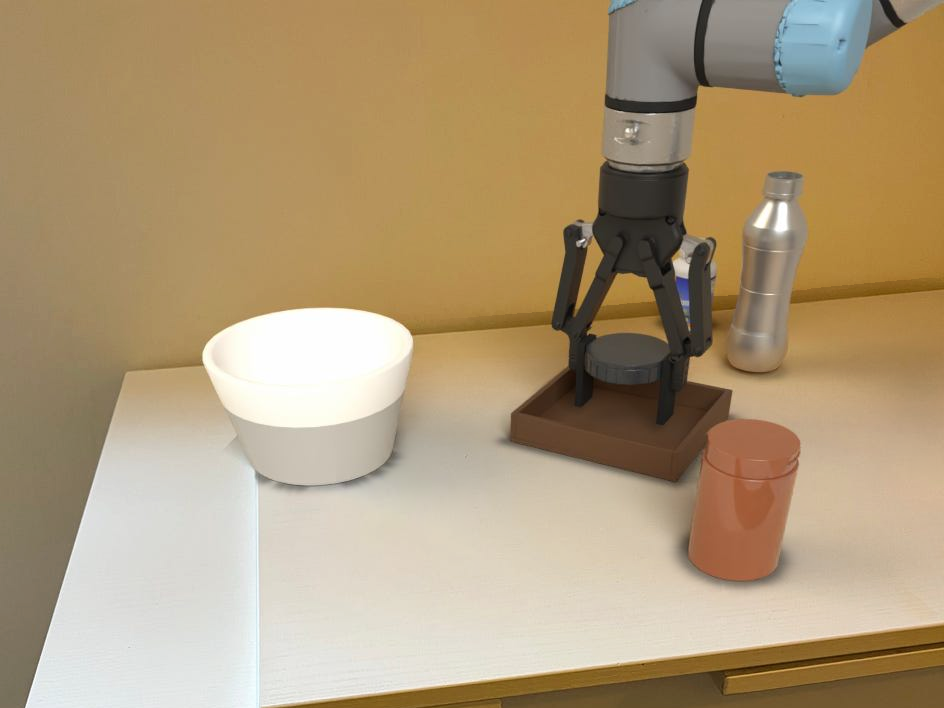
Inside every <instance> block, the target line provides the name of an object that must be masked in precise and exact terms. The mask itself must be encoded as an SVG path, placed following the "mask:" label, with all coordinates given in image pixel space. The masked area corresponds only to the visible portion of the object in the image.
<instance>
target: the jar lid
mask: <svg viewBox="0 0 944 708" xmlns="http://www.w3.org/2000/svg"><path fill="white" fill-rule="evenodd" d="M670 352H671V351H670V348H669V344H668V342H667V341H665V340H663V339H661V338H659V337H656V336H654V335H650V334H645V333H636V332H616V333H609V334H604V335H600V336H596V338H595V339H593V340H592V341H591V342H590V343H588V345H587V347H586V352H585V363H584V365H585V370H586V371H587V372H588V373H589V374H590V375H591V376H593V377H595V378H597V379H599V380H602V381H605V382H609V383H614V384H622V385H639V384H646V383H652V382H655V381H658V380H660V379H661V372H662V363H663V359H664V358H665V357H666V356H667V355H668V354H669V353H670Z"/></svg>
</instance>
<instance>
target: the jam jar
mask: <svg viewBox="0 0 944 708" xmlns="http://www.w3.org/2000/svg"><path fill="white" fill-rule="evenodd" d="M707 435H708V437H707V444H706V445H705V447H704V448H703V449H702V453H701V460H700V467H699V474H698V479H697V488H696V494H695V502H694V508H693V514H692V521H691V528H690V534H689V541H688V542H689V543H688V549H687V554H688V555H687V556H688V558H689V560H690V562H691V563H692V564H693V565H694V566H695V567H696V568H697V569H698V570H700V571H702V573H705V574H707V575H709V576H711V577H715V578H717V579H721V580H726V581H734V582H746V581H747V582H748V581H755V580H760V579H762V578H765V577H767V576H769V575H770V574H772V573H773V572H774V571H775V570H776V568H777V567H778V564H779V559H780V555H781V550H782V546H783V541H784V536H785V532H786V528H787V522H788V518H789V513H790V508H791V504H792V499H793V495H794V490H795V486H796V481H797V476H798V471H799V466H800V461H799V458H800V456H801V440H800V438H799V437H798V435H797V434H796V433H795V432H794V431H792V430H791V429H789V428H787V426H786V427H785V426H783V425H781V424H778V423H775V422H772V421H767V420H764V419H763V420H762V419H755V418H753V419H752V418H738V419H737V418H736V419H729V420H726V421H725V422H722V423H719V424H717V425H715V426H714V427H712V428H710V429H709V431H708V432H707Z"/></svg>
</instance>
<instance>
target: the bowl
mask: <svg viewBox="0 0 944 708" xmlns="http://www.w3.org/2000/svg"><path fill="white" fill-rule="evenodd" d="M414 343H415V341H414V338H413V336H412V334H411V331H410V330H409V329H408V328H407V327H405V326H404V325H403V324H402V323H400V322H398V321H397V320H395V319H393V318H392V317H388V316H386V315H382V314H380V313H377V312H376V313H375V312H371V311H366V310H361V309H352V308H342V307H307V308H306V307H305V308H295V309H287V310H282V311H275V312H270V313H265V314H262V315H258V316H254V317H251V318H247V319H245V320H242V321H239V322H236V323H235V324H232V325H230V326H228V327H226V328H224V329H222V330H221V331H219V332H218V333H216V334H215V335H213V336H212V337H211V339H210V340H208V341H207V343H206V344H205V347H204V349H203V350H202V364H203V366H204V368H205V370H206V372H207V375H208V378H209V379H210V381H211V383H212V385H213V388H214V389H215V392H216V394H217V396H218V398H219V400H220V402H221V404H222V406H223V408H224V411H225V413H226V414H227V417H228V419H229V421H230V423H231V426H232V428H233V429H234V432H235V434H236V436H237V438H238V440H239V443H240V444H241V446H242V449H243V451H244V453H245V455H246V458H247V460H248V462H249V464H250V465H251V467H252V468H253V469H254V471H256V472H257V473H258V474H259V475H261V476H263V477H265V478H267V479H269V480H273V481H275V482H278V483H283V484H289V485H295V486H297V485H298V486H327V485H334V484H335V485H336V484H339V483H344V482H349V481H352V480H355V479H359V478H362V477H364V476H366V475H368V474H371V473H372V472H375V471H376V470H377V469H379V468H380V467H382V466H383V465H384V464H385V463H386V462H387V461H388V460H389V459H390V457H391V455H392V453H393V450H394V446H395V440H396V435H397V431H398V425H399V422H400V421H399V420H400V416H401V411H402V404H403V400H404V396H405V392H406V388H407V382H408V378H409V372H410V368H411V363H412V357H413V353H414Z"/></svg>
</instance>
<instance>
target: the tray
mask: <svg viewBox="0 0 944 708" xmlns="http://www.w3.org/2000/svg"><path fill="white" fill-rule="evenodd" d="M660 381H661V379H660V380H658V381H655V382H652V383H646V384H639V385H622V384H614V383H609V382H605V381H602V380H599V379H597V378H595V377H594V380H593V395H592V398H591V399H590V400H589V401H588V402H587V403H585V404H584V405H583V406H582V407H577V406H574V404H575V386H576V371H574V370H570V368H569V365H568V364H567V366H566V367H564V368H563V369H562V370H561V371H560V372H558V374H556V375H555V376H554V377H552V378H551V379H550V380H549V381H548V382H547V383H545V384H544V385H543V386H542V387H541V388H539V389H538V390H537V391H535V393H534V394H532V395H531V396H530V397H528V399H526V400H525V401H524V402H522V403H521V405H519V406H518V407H517V408H515V410H513V411H512V412H511V413H510V431H509V432H510V433H509V434H510V438H509V439H510V440H509V441H510V442H512V443H514V444H515V443H516V444H520V445H524V446H526V447H527V446H528V447H530V448H531V447H533V448H536V449H540V450H545V451H547V452H552V453H556V454H560V455H564V456H568V457H572V458H577V459H580V460H584V461H589V462H592V463H598V464H601V465H605V466H609V467H614V468H617V469H621V470H625V471H629V472H633V473H636V474H641V475H645V476H650V477H654V478H658V479H662V480H667V481H670V482H674V483H676V482H677V481H678V480H679V479H680V477H681V476H682V475H683V474H684V473H685V471H686V470H687V469H688V468H689V466H690V465H691V464H692V462H693V461H694V460H695V459H696V458H697V456H698V455H699V454H700V453H701V452H702V451H703V450H704V449H705V447H706V444H707V437H708V435H707V432H708V431H709V429H710V428H712V427H714V426H715V425H717V424H719V423H722V422H725V421H727V419H728V418H729V416H730V409H731V403H732V397H733V393H734V391H733V389H731V388H730V389H729V388H724V387H719V386H715V385H710V384H705V383H700V382H694V381H689V380H687V383H686V384H685V386H684V387H683V388H682V389H681V390H680V391H679V392H677V391H676V395H675V404H674V412H673V415H672V416H671V417H670V419H669V420H668V421H667V422H666V423H665V424H664V425H659V424H656V418H657V409H658V400H659V390H660Z"/></svg>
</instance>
